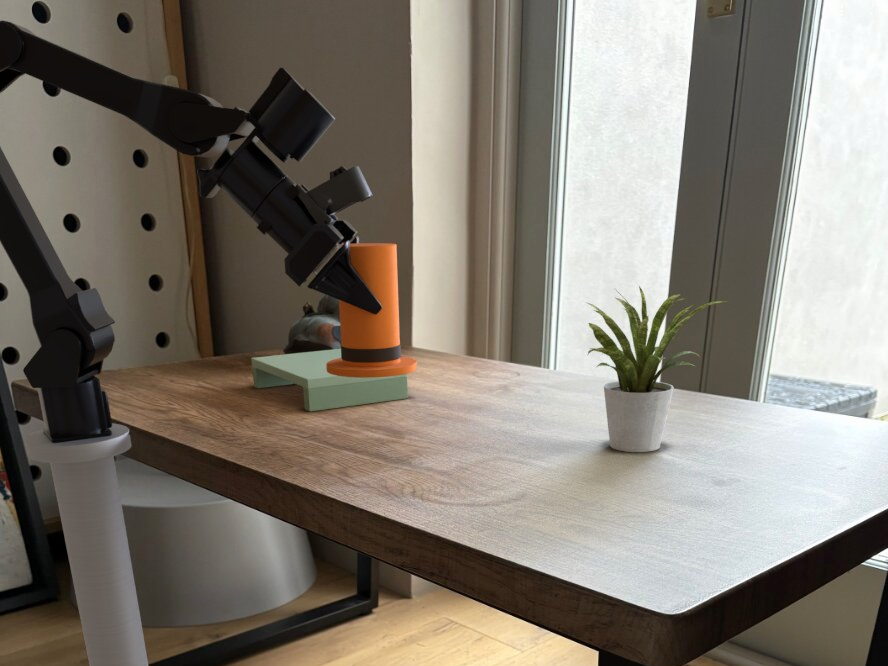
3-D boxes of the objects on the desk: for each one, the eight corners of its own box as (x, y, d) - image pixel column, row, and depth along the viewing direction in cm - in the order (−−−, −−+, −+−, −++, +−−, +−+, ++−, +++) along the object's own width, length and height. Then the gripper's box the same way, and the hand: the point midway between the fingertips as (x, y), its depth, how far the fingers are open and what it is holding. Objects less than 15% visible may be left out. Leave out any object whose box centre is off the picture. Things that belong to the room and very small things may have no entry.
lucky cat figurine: (278, 356, 154) (303, 276, 154) (346, 382, 158) (371, 304, 158) (289, 342, 140) (316, 253, 140) (363, 370, 143) (390, 284, 143)
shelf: (309, 411, 116) (307, 379, 114) (253, 386, 131) (250, 357, 130) (408, 398, 122) (407, 367, 121) (343, 376, 138) (341, 348, 136)
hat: (351, 381, 97) (343, 248, 92) (312, 367, 105) (303, 244, 100) (433, 371, 102) (430, 244, 96) (390, 359, 110) (385, 241, 104)
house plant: (704, 429, 104) (718, 275, 97) (727, 462, 91) (745, 288, 85) (575, 429, 105) (581, 276, 98) (581, 461, 92) (588, 289, 86)
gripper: (309, 130, 85) (431, 256, 90) (332, 140, 102) (434, 246, 107) (232, 224, 89) (354, 341, 93) (268, 218, 106) (369, 318, 110)
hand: (381, 307), depth 101 cm, fingers closed on hat, 6 cm apart
